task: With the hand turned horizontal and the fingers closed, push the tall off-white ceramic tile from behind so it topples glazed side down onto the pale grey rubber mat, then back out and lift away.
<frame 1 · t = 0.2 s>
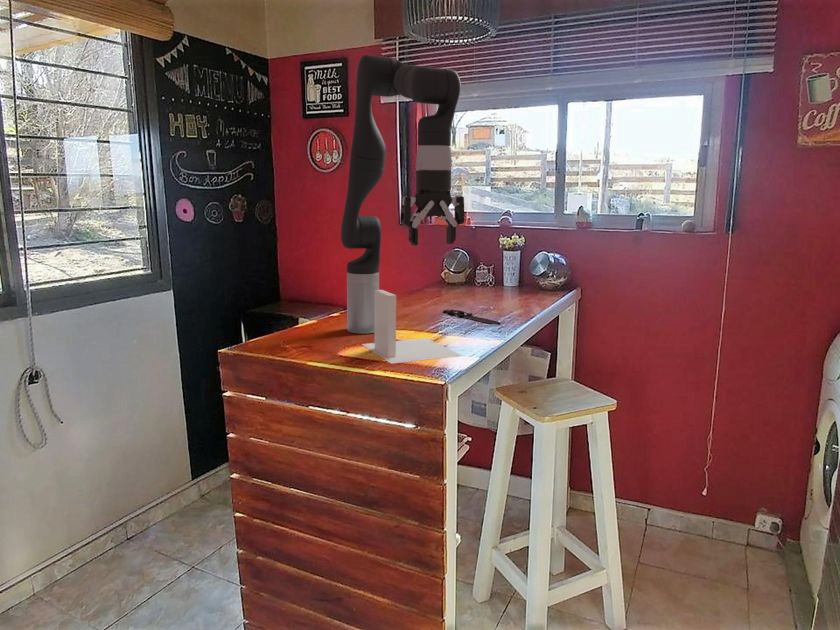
hand: (432, 244, 132), 29 cm above the table, tool pointing down, fingers open, 8 cm apart
mat: (410, 352, 153), on the table
tile: (384, 352, 150), point 1 cm above the table, touching mat
knife: (472, 319, 198), on the table
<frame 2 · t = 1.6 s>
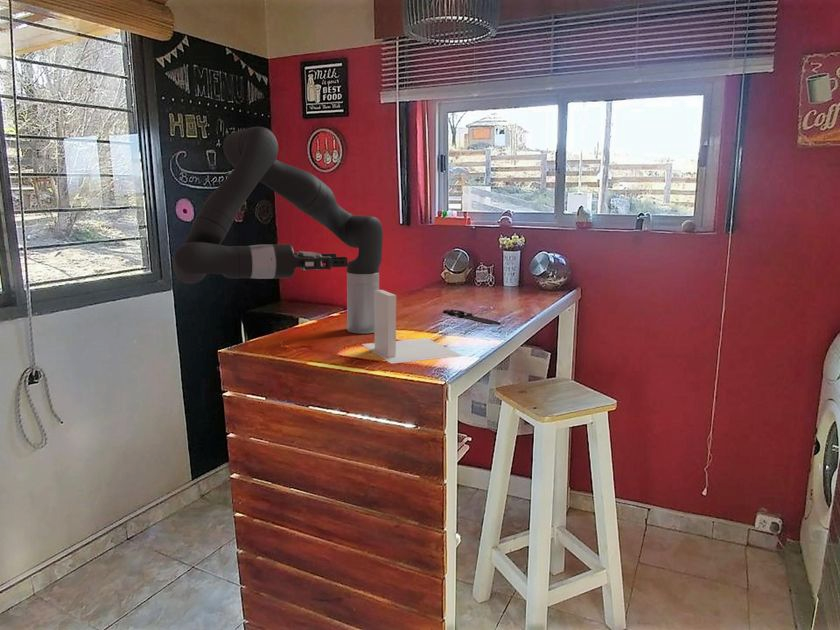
hand: (341, 259, 140), 24 cm above the table, tool horizontal, fingers open, 7 cm apart
nothing on the table moved.
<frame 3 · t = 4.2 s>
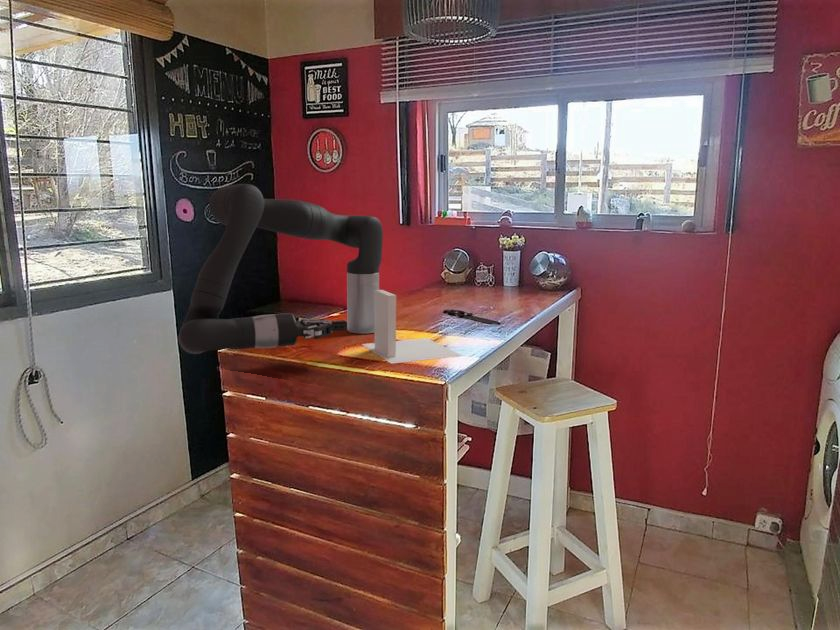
hand: (346, 325, 144), 8 cm above the table, tool horizontal, fingers closed
nothing on the table moved.
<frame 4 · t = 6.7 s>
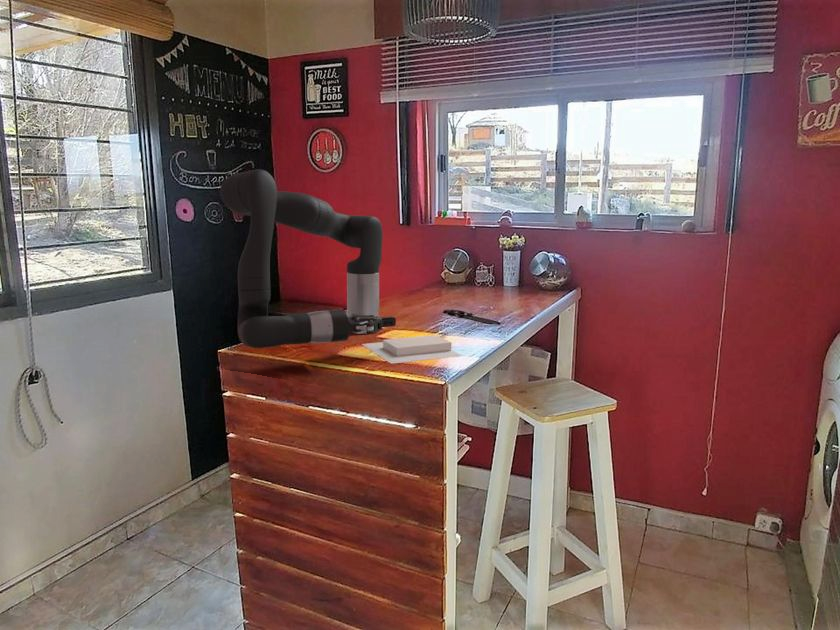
hand: (394, 321, 149), 9 cm above the table, tool horizontal, fingers closed
tile: (389, 347, 150), point 2 cm above the table, tilted 90°, touching mat
everything else where it was.
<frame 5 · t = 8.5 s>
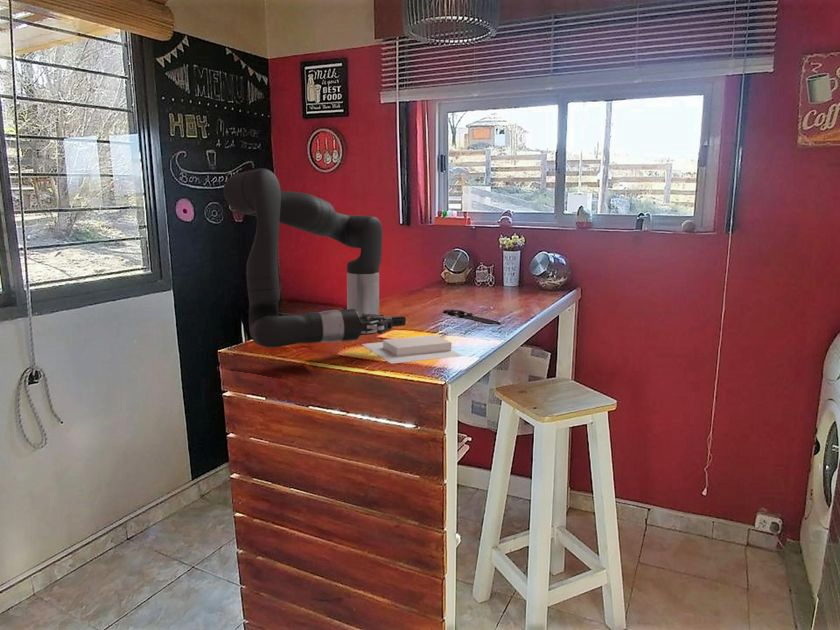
hand: (404, 320, 151), 8 cm above the table, tool horizontal, fingers closed
nothing on the table moved.
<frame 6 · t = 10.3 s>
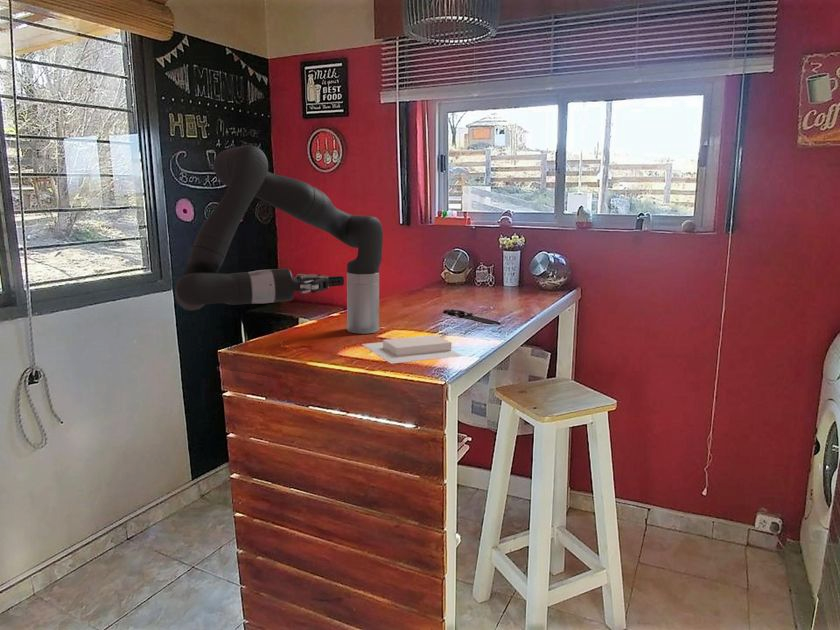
hand: (342, 280, 144), 19 cm above the table, tool horizontal, fingers closed
nothing on the table moved.
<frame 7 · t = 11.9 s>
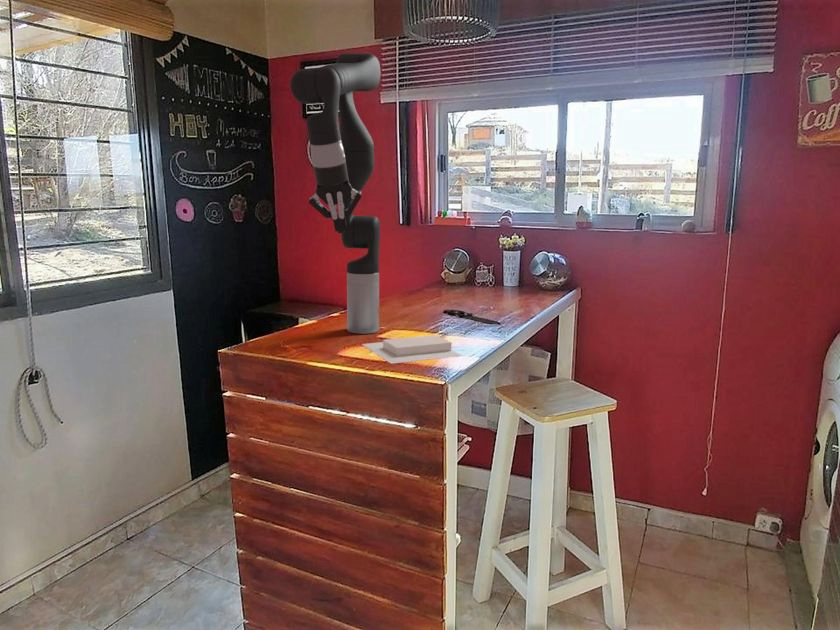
hand: (341, 232, 146), 30 cm above the table, tool tilted 20°, fingers closed
nothing on the table moved.
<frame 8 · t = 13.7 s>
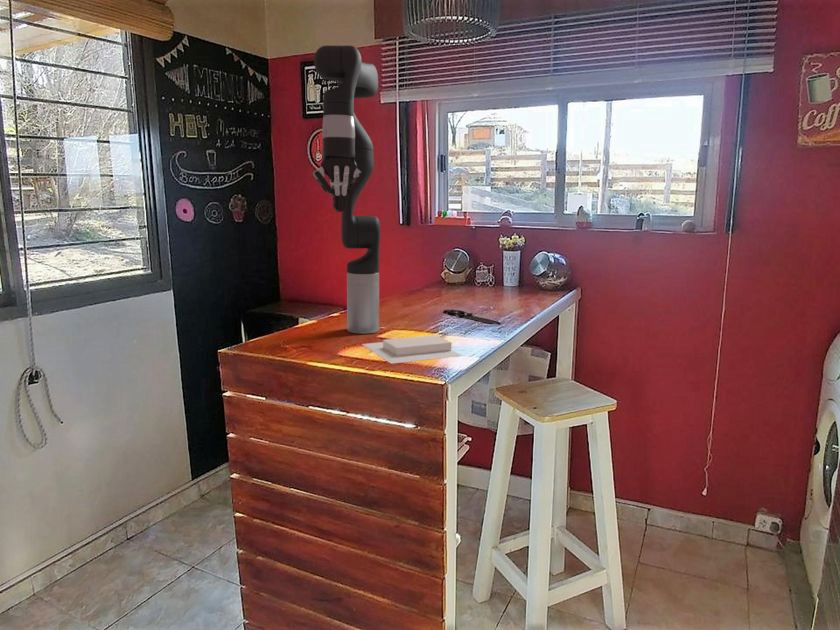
hand: (339, 211, 144), 35 cm above the table, tool pointing down, fingers closed
nothing on the table moved.
at the end: tile tilted 90°; tile inside the target area on the mat (6.2 cm from its centre), point 1.8 cm above the mat's base; tile touching mat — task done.
